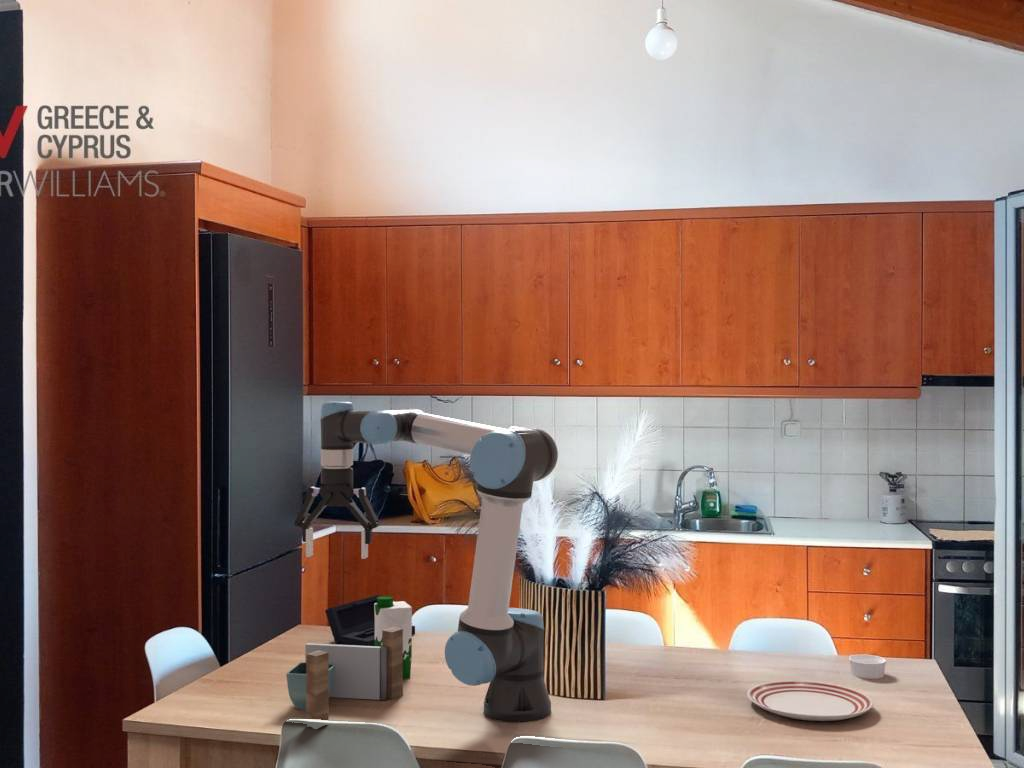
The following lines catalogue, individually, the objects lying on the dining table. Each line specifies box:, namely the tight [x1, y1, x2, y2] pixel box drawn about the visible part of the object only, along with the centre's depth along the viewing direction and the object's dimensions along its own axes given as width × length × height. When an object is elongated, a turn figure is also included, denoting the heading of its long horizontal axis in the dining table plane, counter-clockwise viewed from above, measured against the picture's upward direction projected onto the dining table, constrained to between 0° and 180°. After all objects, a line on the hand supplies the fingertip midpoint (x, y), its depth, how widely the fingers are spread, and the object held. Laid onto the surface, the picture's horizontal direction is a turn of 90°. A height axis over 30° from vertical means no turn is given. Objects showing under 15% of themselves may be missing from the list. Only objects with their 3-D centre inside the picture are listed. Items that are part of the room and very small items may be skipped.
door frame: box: [305, 627, 404, 720], centre depth 224 cm, size 3×28×16 cm, turn 146°
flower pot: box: [285, 661, 335, 711], centre depth 227 cm, size 9×9×9 cm
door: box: [304, 642, 388, 701], centre depth 234 cm, size 20×3×12 cm, turn 81°
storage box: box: [324, 594, 416, 646], centre depth 289 cm, size 21×16×10 cm
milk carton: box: [374, 595, 413, 680], centre depth 251 cm, size 9×9×20 cm
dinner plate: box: [746, 680, 874, 722], centre depth 227 cm, size 28×27×3 cm
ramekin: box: [848, 653, 887, 680], centre depth 253 cm, size 9×9×4 cm
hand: (336, 557), depth 236 cm, fingers open, 13 cm apart
